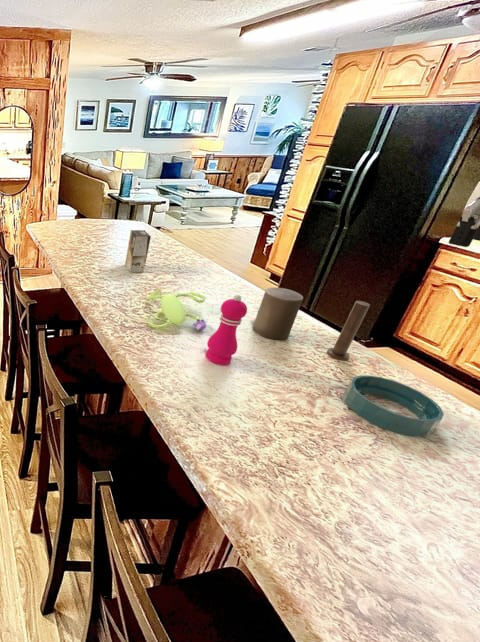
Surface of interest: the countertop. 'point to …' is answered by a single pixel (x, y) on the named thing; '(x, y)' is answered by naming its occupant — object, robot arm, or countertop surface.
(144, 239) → the coffee box
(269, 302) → the pillar candle
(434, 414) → the ring
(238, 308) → the pepper mill
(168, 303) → the figurine
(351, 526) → the countertop surface
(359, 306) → the stick
